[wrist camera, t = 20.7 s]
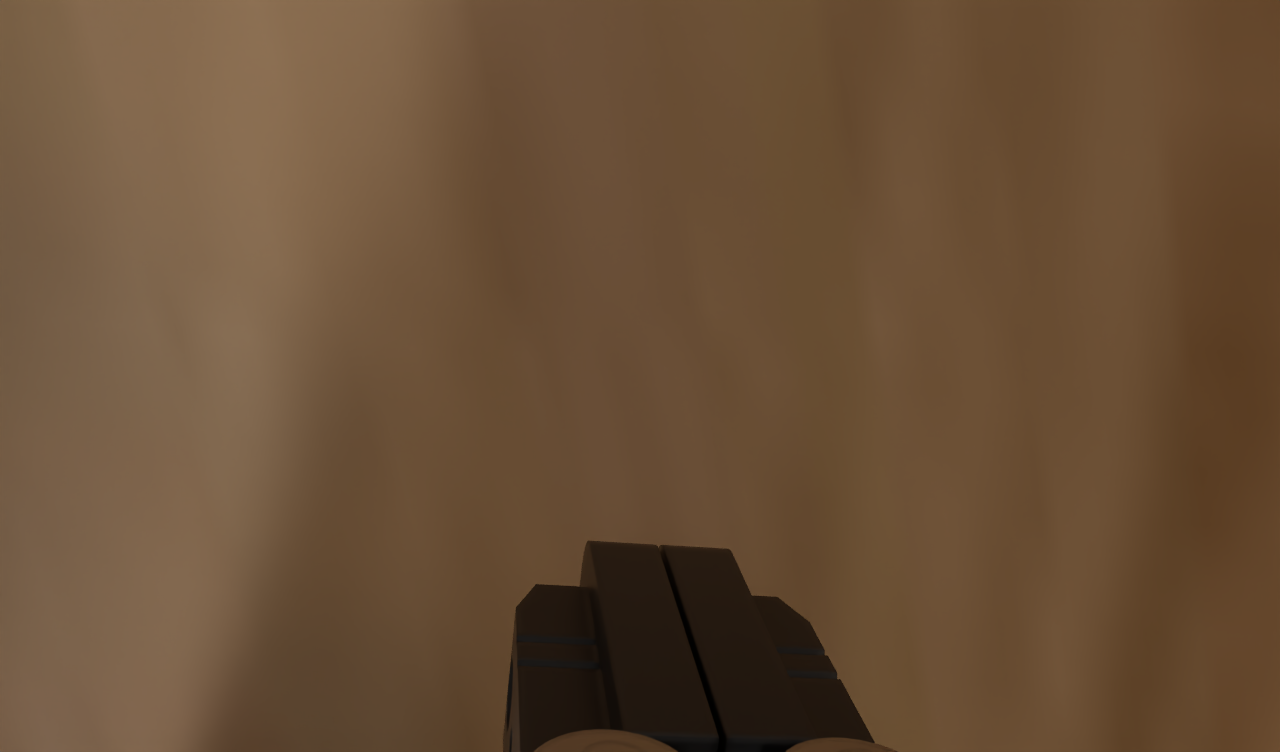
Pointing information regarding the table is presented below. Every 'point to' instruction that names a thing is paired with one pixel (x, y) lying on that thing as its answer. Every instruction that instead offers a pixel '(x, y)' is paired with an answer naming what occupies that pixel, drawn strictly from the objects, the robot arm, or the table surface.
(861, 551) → the table surface
